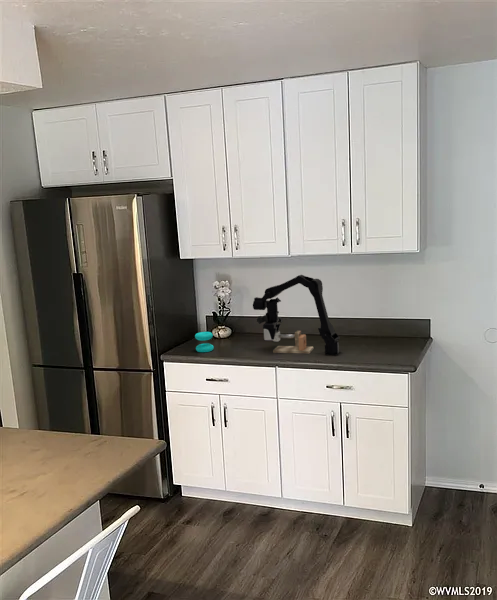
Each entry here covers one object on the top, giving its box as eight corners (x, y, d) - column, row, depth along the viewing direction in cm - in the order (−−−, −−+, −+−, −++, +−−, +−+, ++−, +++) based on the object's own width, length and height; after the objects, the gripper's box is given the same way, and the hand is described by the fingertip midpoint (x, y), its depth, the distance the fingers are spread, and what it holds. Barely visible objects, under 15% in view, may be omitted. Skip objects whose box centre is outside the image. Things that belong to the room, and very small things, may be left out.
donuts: (191, 333, 339) (207, 330, 344) (193, 350, 341) (208, 347, 346) (199, 336, 331) (215, 333, 336) (200, 353, 332) (217, 350, 337)
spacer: (306, 347, 328) (305, 334, 327) (303, 350, 321) (302, 337, 320) (302, 347, 329) (301, 334, 327) (299, 350, 322) (298, 337, 321)
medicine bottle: (276, 340, 353) (275, 320, 351) (264, 340, 355) (263, 320, 353) (278, 337, 360) (277, 317, 358) (266, 337, 362) (265, 317, 360)
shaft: (300, 340, 327) (299, 330, 326) (298, 341, 323) (297, 332, 322) (275, 339, 331) (274, 330, 330) (273, 341, 327) (272, 332, 327)
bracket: (313, 348, 328) (312, 329, 327) (309, 353, 319) (308, 334, 317) (278, 347, 335) (277, 329, 333) (273, 352, 325) (272, 333, 324)
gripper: (263, 307, 338) (264, 334, 340) (252, 313, 320) (254, 342, 323) (282, 307, 334) (283, 334, 337) (273, 313, 317) (274, 342, 319)
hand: (273, 338), depth 329 cm, fingers closed on shaft, 4 cm apart
